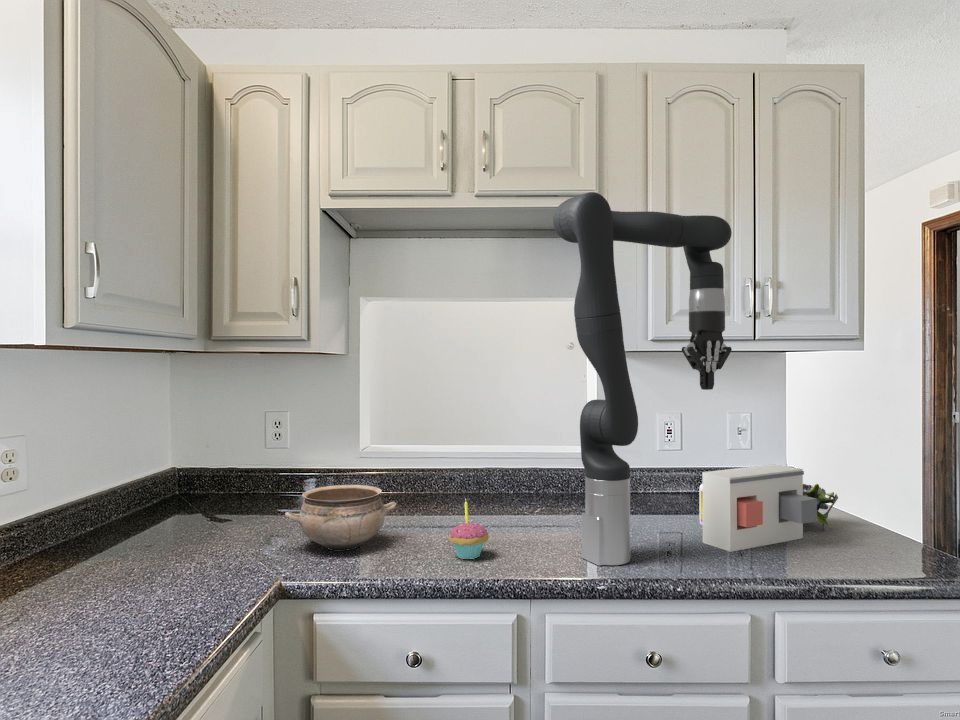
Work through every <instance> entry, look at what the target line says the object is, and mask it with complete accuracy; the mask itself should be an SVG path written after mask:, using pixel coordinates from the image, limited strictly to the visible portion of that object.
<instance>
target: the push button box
mask: <svg viewBox="0 0 960 720" xmlns="http://www.w3.org/2000/svg"><path fill="white" fill-rule="evenodd" d="M804 475H805V471H804V469H803V468H797V467H792V466H787V465H781V464H775V463H772V464H771V463H770V464H763V465H754V466H744V467H736V468H728V469H718V470H717V469H716V470H708V471H702V481H701V482H702V483H703V526H702V544H705V545H709V546H712V547H715V548H717V549H720V550H723V551H727V552H729V553H730V552H731V553H733V552H736V551H743V550H746V549H754V548H757V547H758V548H759V547H765V546H769V545H773V544H779V543H785V542H791V541H795V540H796V541H797V540H801V539H804V523H803V524H801V523H797V522H793V521H789V520H785V519H781V518H779V496H780V495H787V494H798V495H802V496H803V484H804V483H803V482H804V479H803V478H804V477H803V476H804ZM739 497H745V498H749V499H754V500H758V501H762V502H763V525H757V526H751V527H743V526H740V525H737V498H739Z"/></svg>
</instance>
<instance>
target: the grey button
mask: <svg viewBox="0 0 960 720" xmlns="http://www.w3.org/2000/svg"><path fill="white" fill-rule="evenodd" d="M779 518H781V519H785V520H789V521H793V522H797V523H801V524H803V525H804V524H809V523H813V522H817V521H818V520H817V499H816V498H812V497H807V496H802V495H798V494H787V495H780V496H779Z"/></svg>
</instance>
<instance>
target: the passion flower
mask: <svg viewBox="0 0 960 720" xmlns="http://www.w3.org/2000/svg"><path fill="white" fill-rule="evenodd" d="M803 496H807V497H812V498H816V499H817V521H818V522H819V523H822V532H823V531H824V532H825V528H826V526H827V525H828V521H827V520H828V517H829V513H830V512H831V509H832V508H833V506H834V505H835V504H836V502H837V501H838V499H839V496H838V494H837V493H835V492H833V491H831V492H829V493H828V492H826V489H824V488H821V487H820V485H819V483H816V484H814V485H811V484H806V483H803ZM826 496H827V497H826ZM827 504H830V507H829V506H828V505H827ZM819 510H827V511H826V512H825V513H824V514H823V513H821V512H820V511H819Z"/></svg>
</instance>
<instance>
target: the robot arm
mask: <svg viewBox="0 0 960 720" xmlns="http://www.w3.org/2000/svg"><path fill="white" fill-rule="evenodd" d="M552 224H553V229H554V230H555V232H556V233H557V236H559V237H560V238H561V239H563V241H566V242H568V243H572V244H577V245H578V253H579V259H580V274H579V275H580V276H579V280H578V284H577V290H576V294H575V298H574V303H573V304H574V306H573V315H574V322H575V330H576V336H577V337H576V338H577V341H578V344H579V346H580V349H581V350H582V352H583V353H584V354H585V356H586V358H587V359H588V361H589V362H590V364H591V365H592V367H593V368H594V370H595V371H596V373H597V375H598V377H599V379H600V382H601V386H602V388H603V393H604V399H591V400H590V401H588V402H586V403H585V405H584V406H583V408H582V410H581V413H580V420H579V436H580V437H579V439H580V453H581V454H580V457H581V462H582V465H583V468H584V474H585V475H584V476H585V477H584V478H585V479H584V482H585V485H584V486H585V487H584V490H585V492H584V493H585V495H584V497H585V500H584V501H585V503H584V505H585V506H584V507H585V509H584V510H585V511H584V512H582V513H580V514H581V518H580V519H581V522H580V523H581V530H580V531H581V558H582V559H583V560H586V561H588V562H590V563H592V564H595V565H597V566H619V565H626V564H628V563H630V562H631V467H630V464H629V463H628V462H627V461H625V460H624V459H623V458H621V457H620V456H619V455H618V454H617V453H616V452H615V450H614V447H613V446H616V447H617V446H618V447H626V446H629V445H631V444H632V443H633V442H634V441H636V438H637V435H638V429H639V416H638V409H637V406H636V400H635V396H634V392H633V387H632V383H631V379H630V374H629V369H628V362H627V357H626V350H625V343H624V330H623V322H622V314H621V313H622V312H621V308H620V301H619V294H618V284H617V278H616V268H615V267H616V266H615V258H614V253H615V252H614V242H615V241H616V242H626V243H633V244H641V245H648V246H654V247H655V246H657V247H664V248H673V249H674V248H683V251H684V255H685V260H686V264H687V266H688V270H689V295H688V296H689V298H688V331H689V332H690V333H691V335H690V338H689V343H688V345H686V346H682V347H681V353H682V354H683V356H684V357H685V358H686V360H687V361H688V363H689V365H690V366H691V368H692V370H696V371H698V373H699V387H700V389H701V390H706V391H709V390H713V389H714V386H715V372H716V371H717V370H721V369H722V368H723V367H724V365H725V363H726V362H727V359H728V357H729V356H730V354H731V353H732V347H731V346H727V345H726V344H725V343H724V337H723V332H724V331H725V330H726V298H725V297H726V296H725V290H724V288H725V287H724V286H725V283H724V279H725V278H724V277H725V275H724V274H725V273H724V266H723V264H722V263H720V262H716V261H713V260H712V257H711V251H717V250H719V249H723V248H724V247H725V246H726V245H728V243H729V242H730V240H731V238H732V233H733V232H732V228H731V226H730V224H729V222H728V221H727V220H725V219H724V218H723V217H720V216H718V215H717V216H716V215H706V214H705V215H683V214H682V215H681V214H676V213H669V212H663V211H661V212H660V211H619V210H618V211H617V210H612V209H611V206H610V204H609V202H608V200H607V199H606V197H604V196H603V195H602V194H600V193H598V192H594V191H591V192H585V193H582V194H581V193H580V194H579V195H576V196H572V197H570V198H568V199H566V200H564V201H563V202H561V203H560V204H559V205H558V206H557V207H556V209H555V211H554V214H553V217H552Z"/></svg>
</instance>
